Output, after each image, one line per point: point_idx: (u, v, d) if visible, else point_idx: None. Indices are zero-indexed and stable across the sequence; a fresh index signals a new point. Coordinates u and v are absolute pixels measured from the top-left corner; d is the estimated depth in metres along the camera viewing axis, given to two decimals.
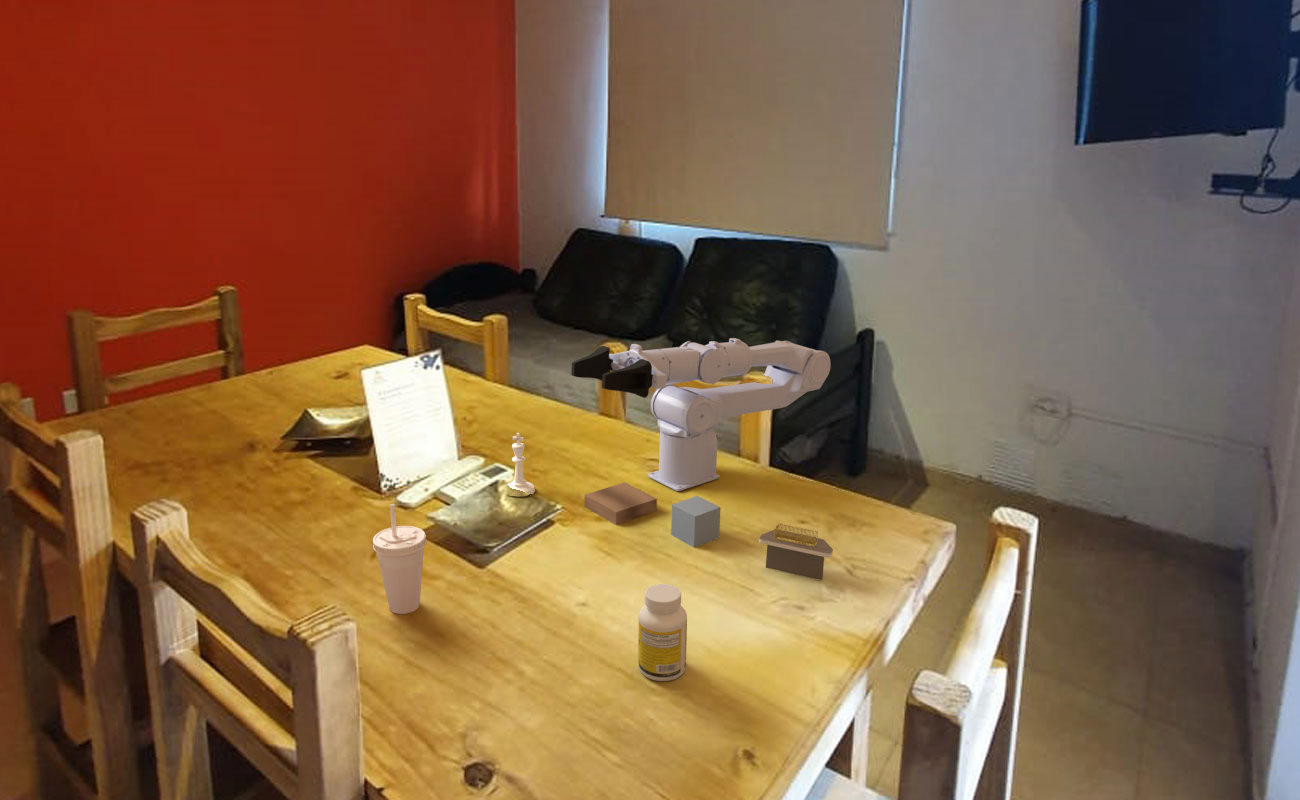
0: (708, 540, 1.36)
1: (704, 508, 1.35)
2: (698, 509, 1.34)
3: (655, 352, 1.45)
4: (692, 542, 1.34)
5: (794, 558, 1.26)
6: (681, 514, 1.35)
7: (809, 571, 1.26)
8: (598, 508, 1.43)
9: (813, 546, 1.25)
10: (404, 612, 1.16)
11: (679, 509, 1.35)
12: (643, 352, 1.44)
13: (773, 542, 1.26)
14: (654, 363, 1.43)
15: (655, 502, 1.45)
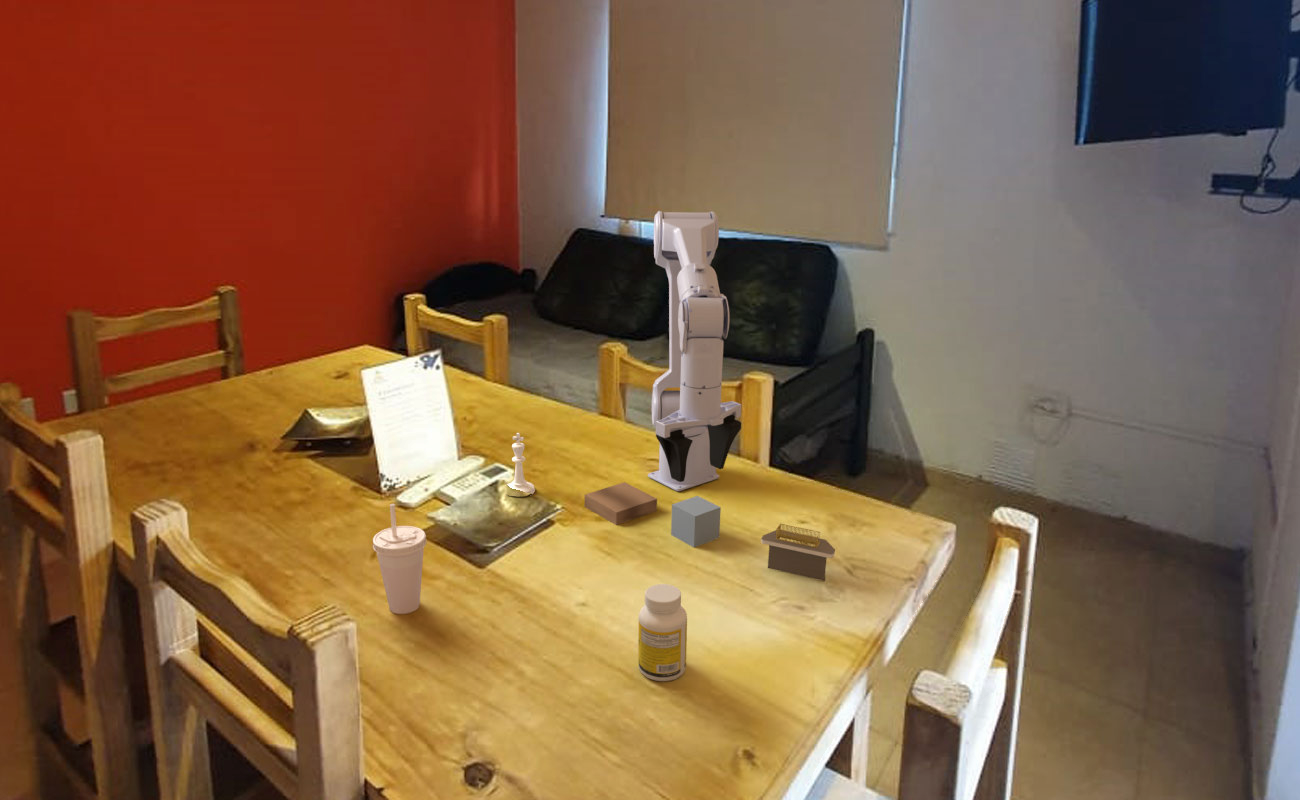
0: (708, 540, 1.36)
1: (704, 507, 1.35)
2: (698, 509, 1.34)
3: (718, 396, 1.29)
4: (692, 542, 1.34)
5: (796, 558, 1.26)
6: (681, 514, 1.35)
7: (811, 571, 1.26)
8: (598, 508, 1.43)
9: (815, 547, 1.25)
10: (404, 612, 1.16)
11: (679, 509, 1.35)
12: (716, 411, 1.29)
13: (775, 542, 1.26)
14: None
15: (655, 502, 1.45)
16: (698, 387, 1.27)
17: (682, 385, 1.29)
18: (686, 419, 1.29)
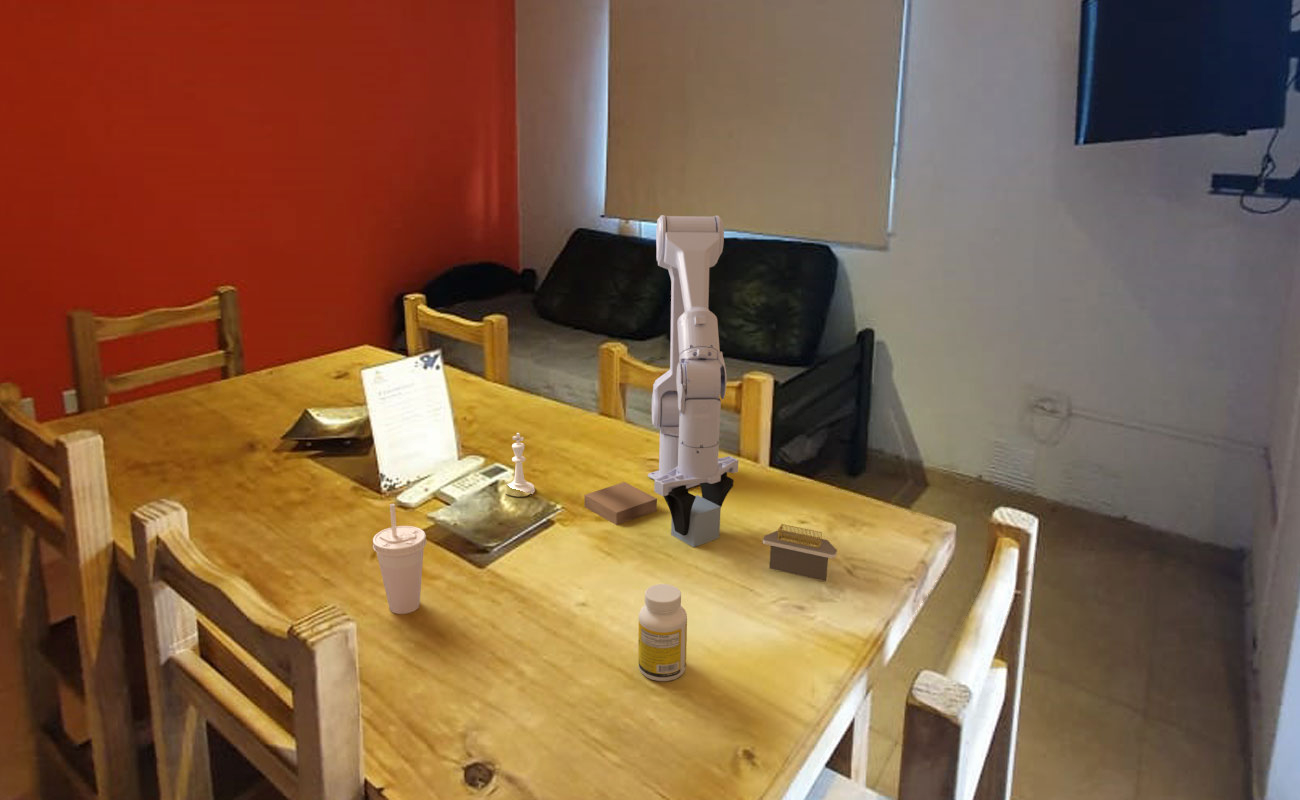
0: (708, 539, 1.36)
1: (704, 507, 1.35)
2: (698, 508, 1.34)
3: (715, 454, 1.31)
4: (692, 541, 1.34)
5: (798, 559, 1.26)
6: None
7: (813, 572, 1.26)
8: (598, 508, 1.43)
9: (817, 547, 1.25)
10: (404, 612, 1.16)
11: None
12: (713, 469, 1.32)
13: (777, 543, 1.26)
14: None
15: (655, 502, 1.45)
16: (696, 446, 1.30)
17: (680, 444, 1.31)
18: (684, 477, 1.32)
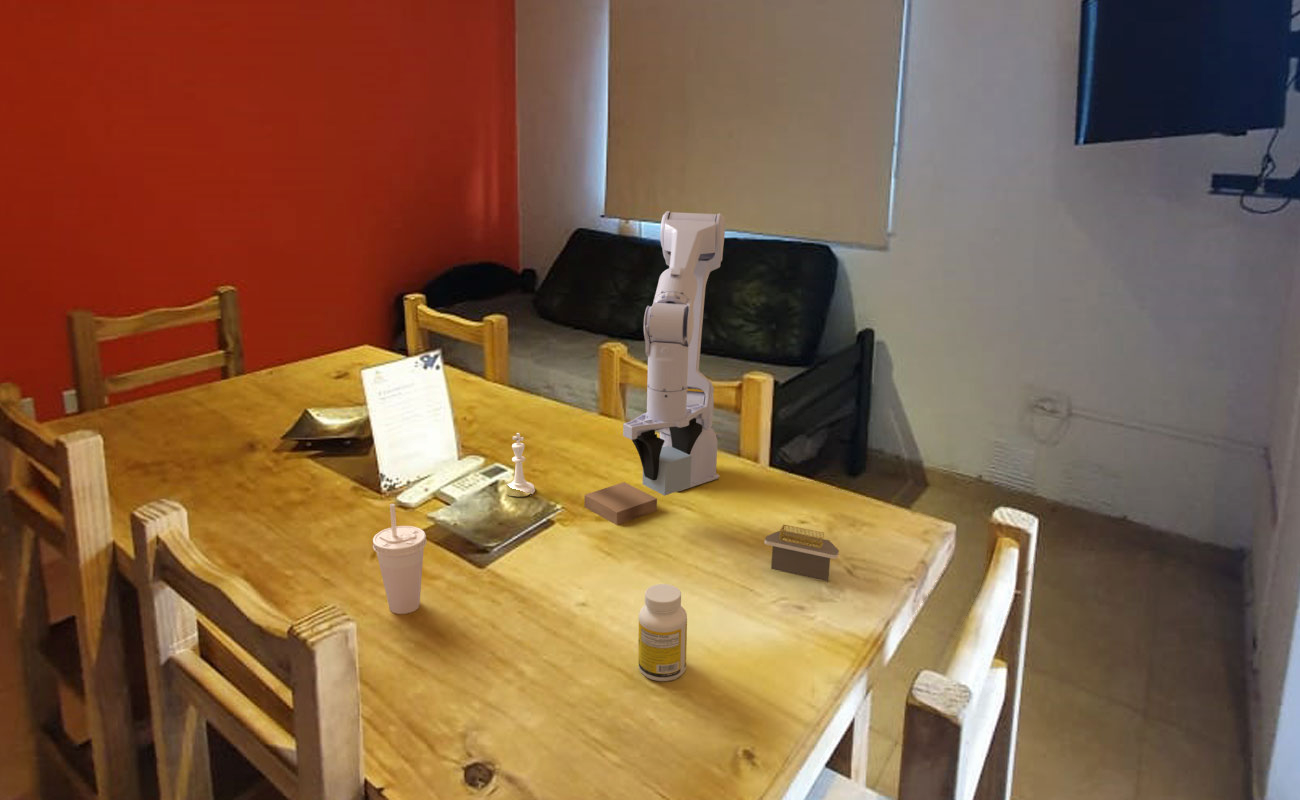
0: (679, 488, 1.37)
1: (674, 456, 1.36)
2: (669, 457, 1.36)
3: (684, 399, 1.33)
4: (663, 490, 1.35)
5: (800, 559, 1.26)
6: None
7: (815, 572, 1.26)
8: (598, 508, 1.43)
9: (819, 547, 1.25)
10: (404, 612, 1.16)
11: None
12: (681, 413, 1.33)
13: (779, 543, 1.26)
14: None
15: (655, 502, 1.45)
16: (659, 390, 1.31)
17: (649, 388, 1.33)
18: (653, 421, 1.33)
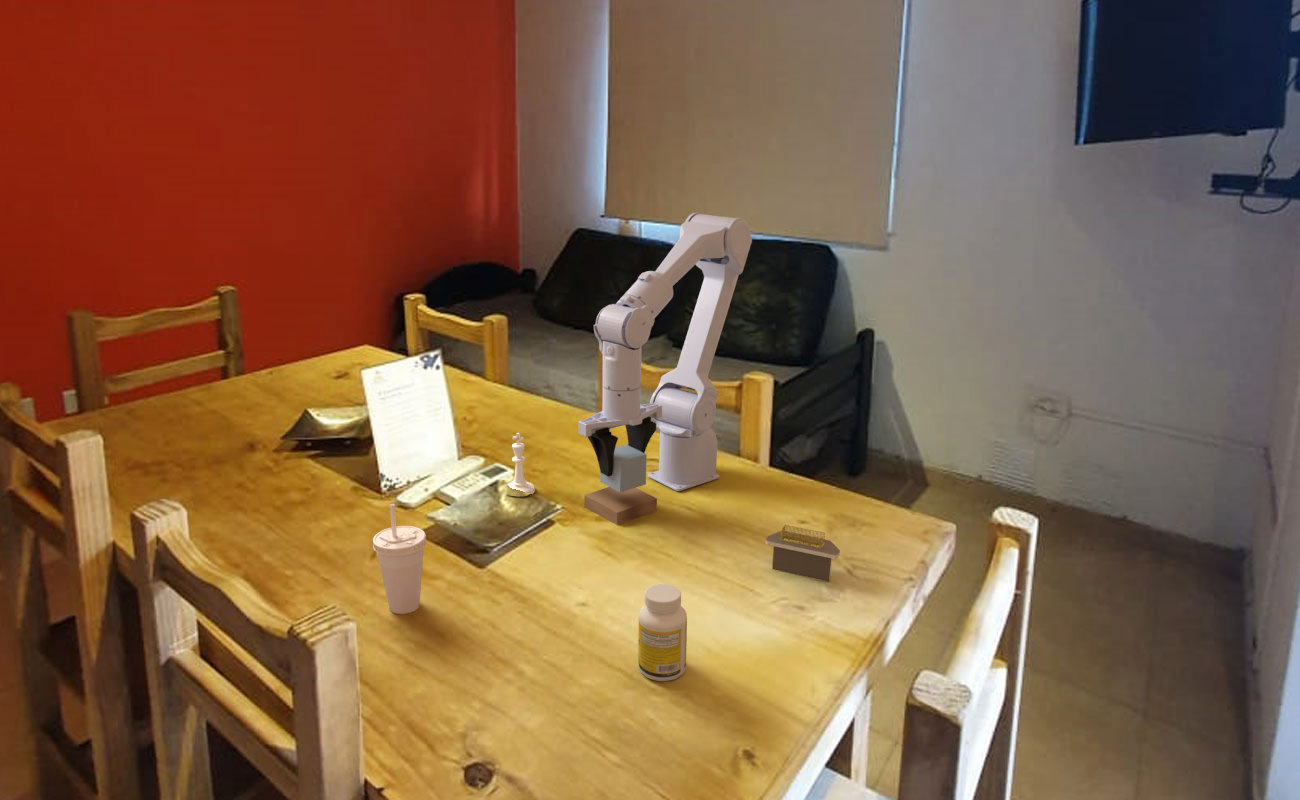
0: (634, 486, 1.42)
1: (630, 454, 1.41)
2: (625, 456, 1.41)
3: (637, 398, 1.38)
4: (618, 487, 1.40)
5: (801, 559, 1.26)
6: None
7: (816, 572, 1.26)
8: (598, 508, 1.43)
9: (820, 547, 1.24)
10: (404, 612, 1.16)
11: None
12: (635, 412, 1.38)
13: (780, 544, 1.26)
14: None
15: (655, 502, 1.45)
16: (605, 387, 1.37)
17: (603, 388, 1.38)
18: (607, 419, 1.38)
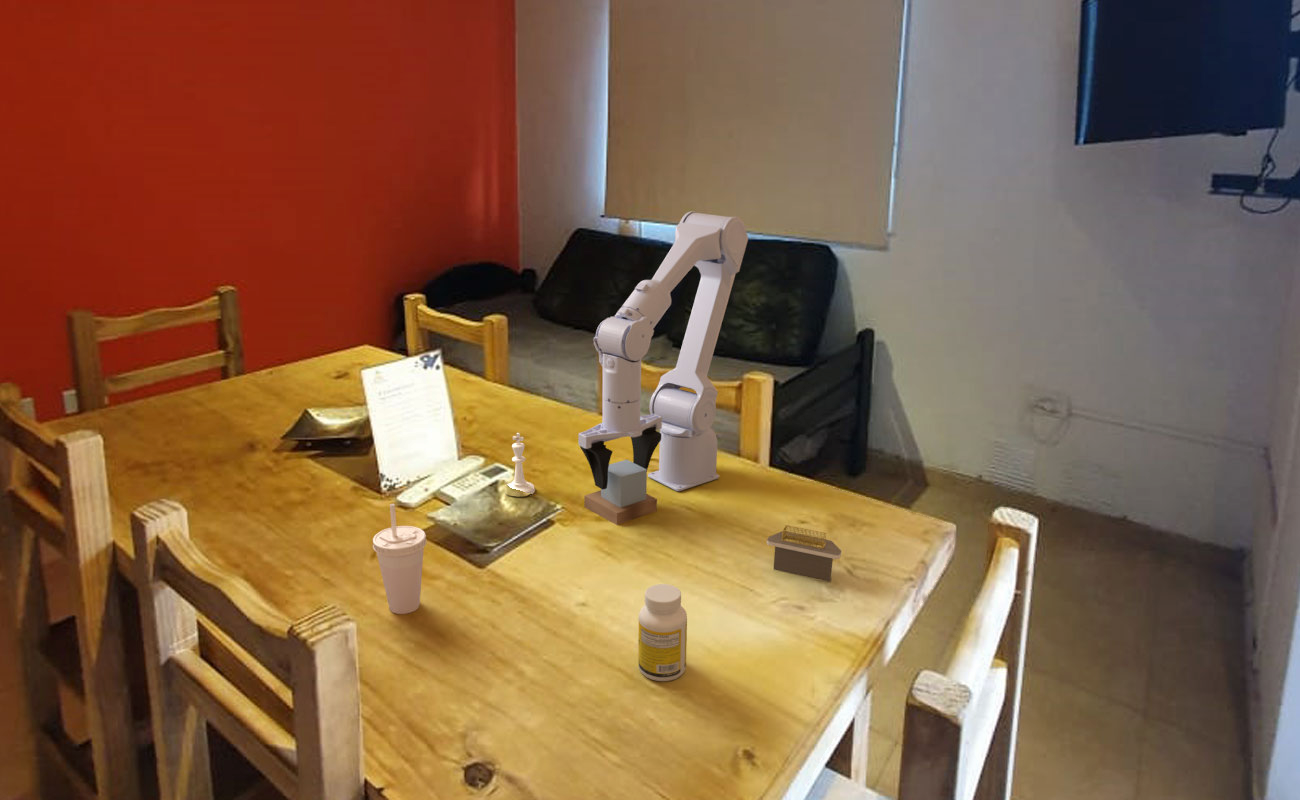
0: (635, 501, 1.43)
1: (630, 470, 1.42)
2: (625, 471, 1.42)
3: (637, 410, 1.39)
4: (619, 502, 1.41)
5: (802, 560, 1.26)
6: (609, 475, 1.42)
7: (817, 573, 1.26)
8: (598, 509, 1.43)
9: (821, 548, 1.24)
10: (404, 612, 1.16)
11: None
12: (635, 424, 1.39)
13: (781, 544, 1.26)
14: None
15: (655, 503, 1.45)
16: (605, 399, 1.38)
17: (603, 400, 1.39)
18: (607, 431, 1.39)
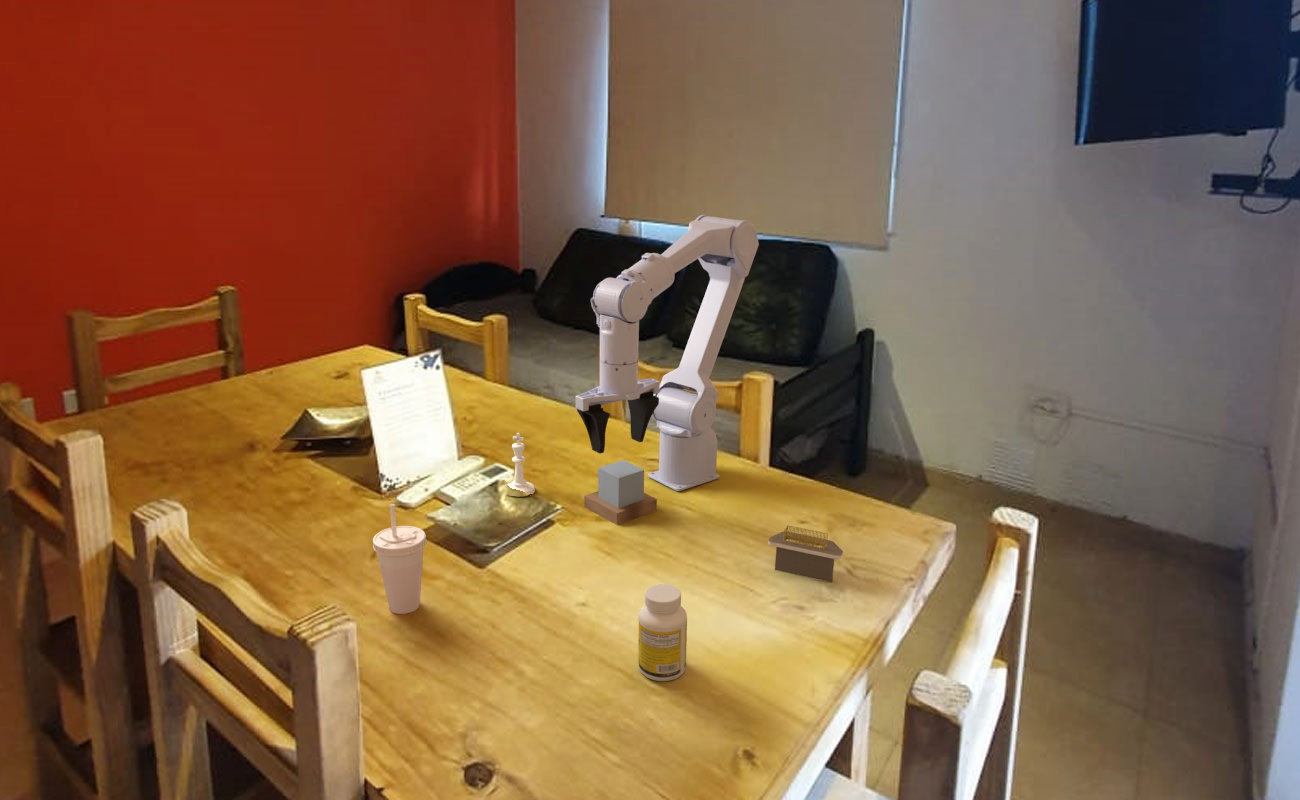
0: (633, 501, 1.43)
1: (628, 470, 1.42)
2: (622, 472, 1.42)
3: (634, 372, 1.37)
4: (617, 503, 1.41)
5: (804, 560, 1.26)
6: (606, 476, 1.42)
7: (819, 573, 1.26)
8: (598, 509, 1.43)
9: (823, 548, 1.24)
10: (404, 612, 1.16)
11: (604, 472, 1.42)
12: (632, 387, 1.38)
13: (783, 544, 1.26)
14: None
15: (655, 503, 1.45)
16: (602, 361, 1.37)
17: (601, 362, 1.37)
18: (604, 394, 1.37)
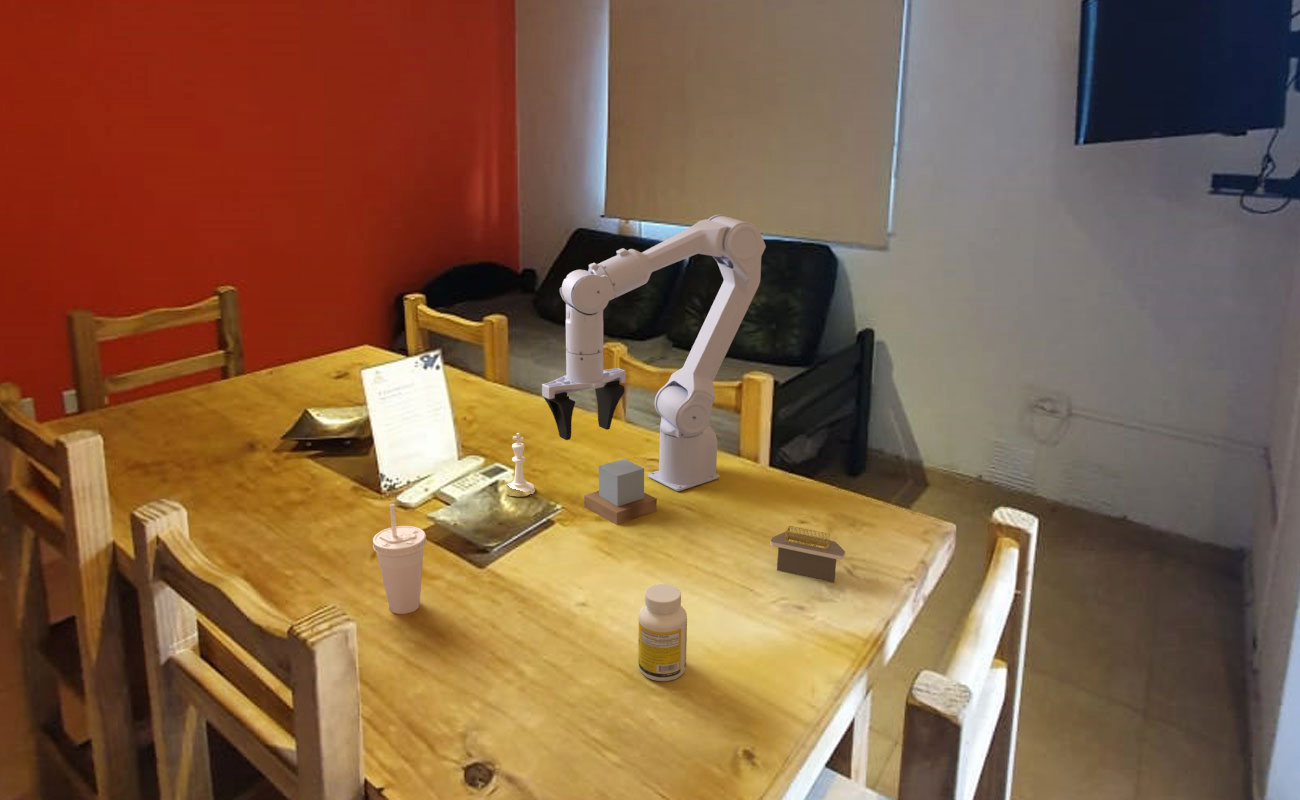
0: (632, 500, 1.43)
1: (628, 469, 1.43)
2: (622, 470, 1.42)
3: (599, 362, 1.42)
4: (616, 501, 1.42)
5: (806, 560, 1.26)
6: (606, 474, 1.42)
7: (821, 573, 1.26)
8: (598, 508, 1.43)
9: (825, 548, 1.24)
10: (404, 612, 1.16)
11: (604, 470, 1.43)
12: (597, 375, 1.42)
13: (785, 545, 1.25)
14: None
15: (655, 502, 1.45)
16: (566, 348, 1.43)
17: (567, 352, 1.42)
18: (570, 382, 1.42)
